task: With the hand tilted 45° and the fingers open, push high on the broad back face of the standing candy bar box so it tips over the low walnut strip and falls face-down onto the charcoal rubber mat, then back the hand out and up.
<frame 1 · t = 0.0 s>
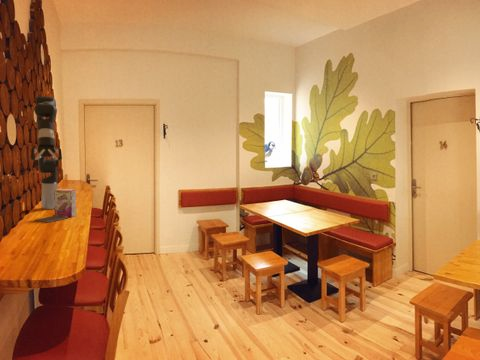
hand: (46, 167, 178), 31 cm above the bar counter, tool tilted 20°, fingers open, 8 cm apart
candy bar box: (65, 216, 207), on the bar counter
mat: (51, 219, 197), on the bar counter
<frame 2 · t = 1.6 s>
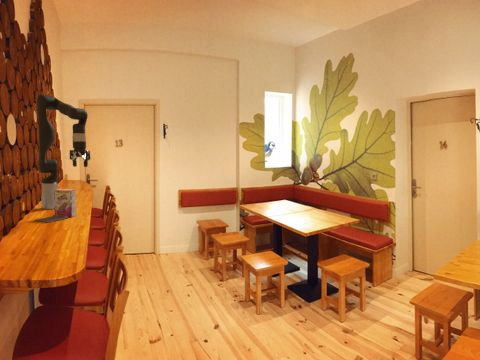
hand: (80, 166, 213), 30 cm above the bar counter, tool pointing down, fingers open, 8 cm apart
nothing on the bar counter moved.
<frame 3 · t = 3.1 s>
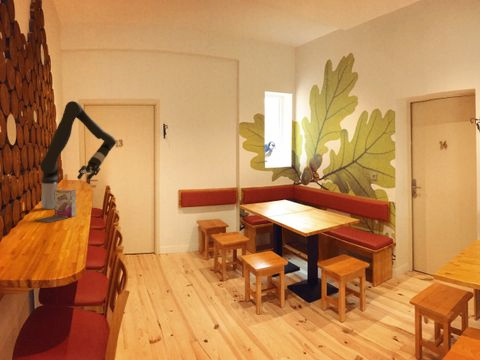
hand: (83, 178, 218), 22 cm above the bar counter, tool tilted 45°, fingers open, 8 cm apart
nothing on the bar counter moved.
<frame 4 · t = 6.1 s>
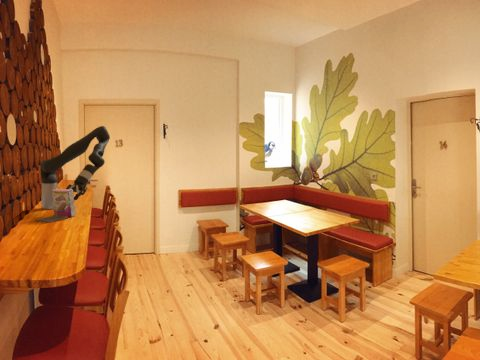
hand: (69, 199, 208), 10 cm above the bar counter, tool tilted 45°, fingers open, 8 cm apart
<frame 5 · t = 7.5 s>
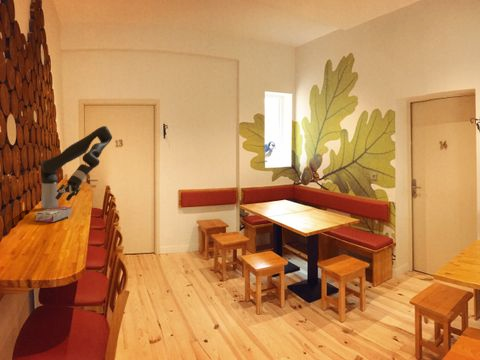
hand: (61, 199, 204), 11 cm above the bar counter, tool tilted 45°, fingers open, 8 cm apart
candy bar box: (63, 210, 205), point 4 cm above the bar counter, touching mat
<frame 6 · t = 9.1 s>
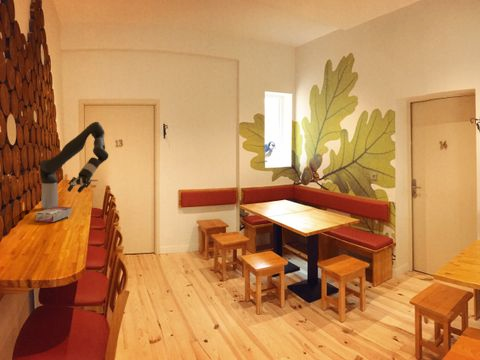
hand: (73, 191, 211), 15 cm above the bar counter, tool tilted 45°, fingers open, 8 cm apart
nothing on the bar counter moved.
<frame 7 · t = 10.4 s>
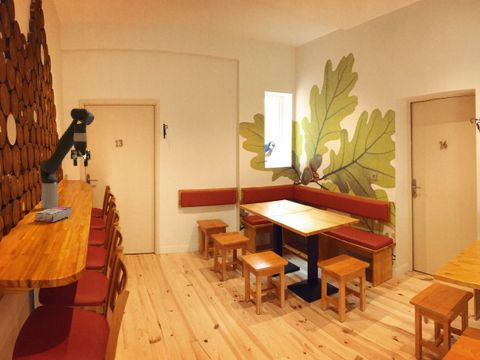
hand: (80, 166, 215), 30 cm above the bar counter, tool pointing down, fingers open, 8 cm apart
nothing on the bar counter moved.
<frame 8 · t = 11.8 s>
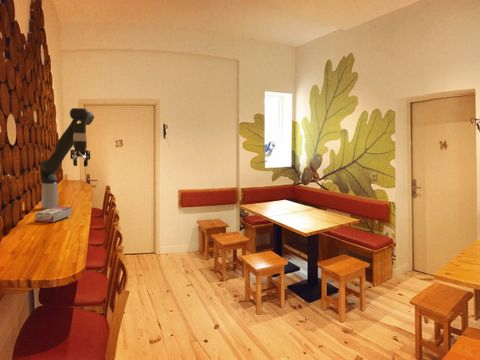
hand: (80, 166, 215), 30 cm above the bar counter, tool pointing down, fingers open, 8 cm apart
nothing on the bar counter moved.
at the end: candy bar box tilted 93°; candy bar box touching mat; the gripper is holding nothing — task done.
